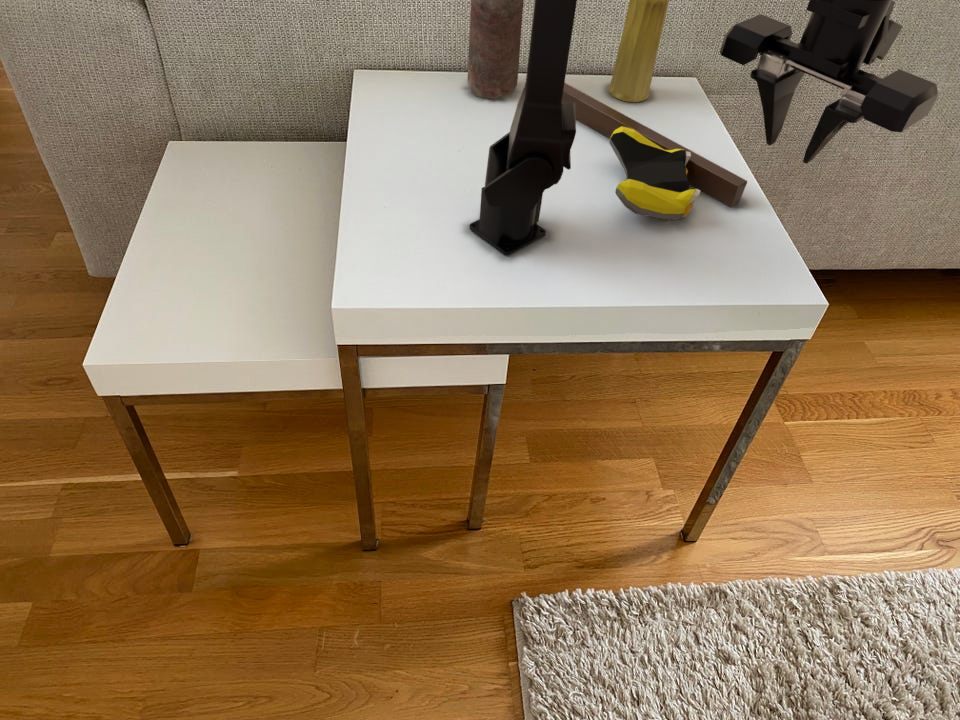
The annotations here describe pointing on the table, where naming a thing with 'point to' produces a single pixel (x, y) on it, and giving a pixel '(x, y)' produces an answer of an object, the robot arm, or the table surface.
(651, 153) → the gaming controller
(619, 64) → the vase
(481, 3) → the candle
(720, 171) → the back rail
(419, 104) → the table surface
